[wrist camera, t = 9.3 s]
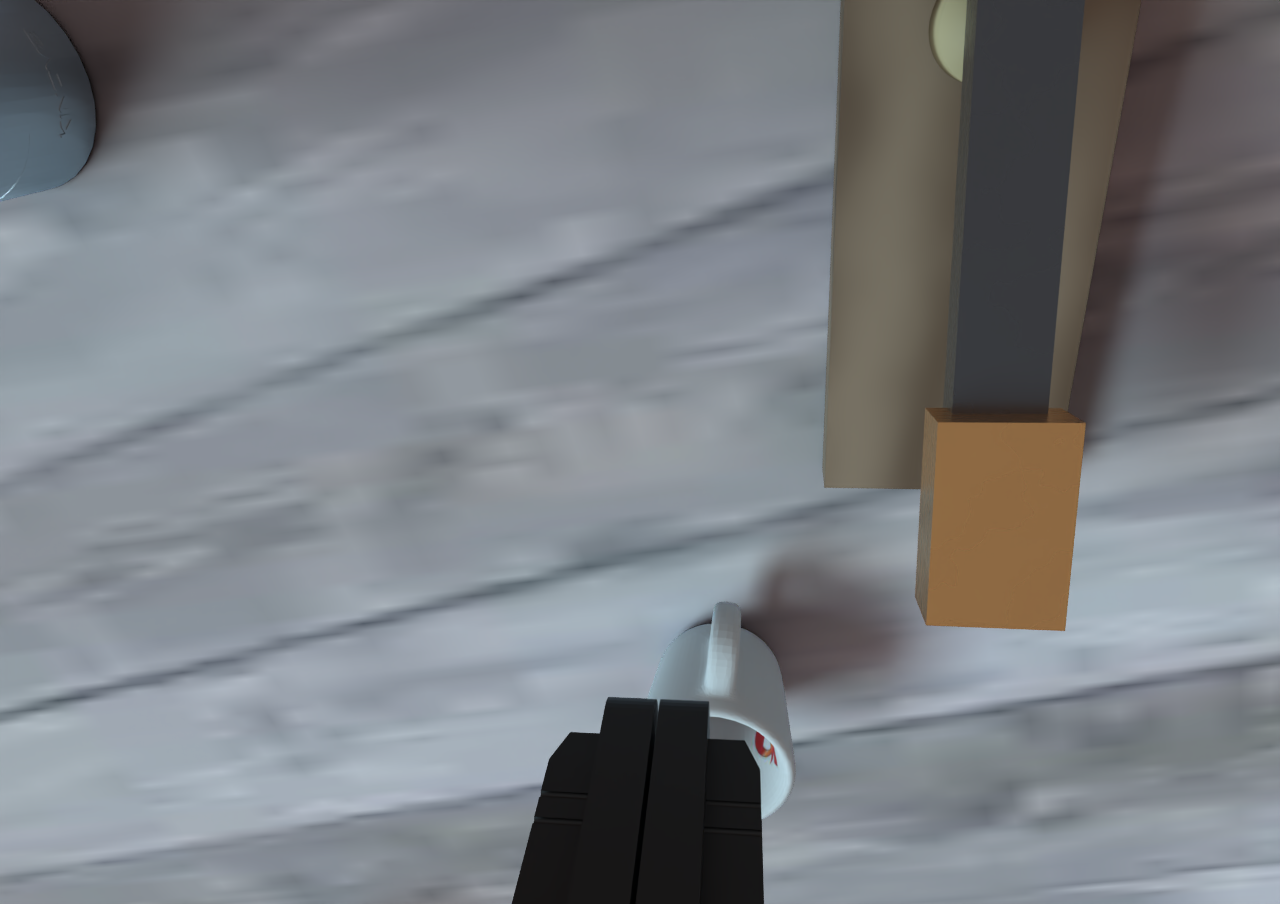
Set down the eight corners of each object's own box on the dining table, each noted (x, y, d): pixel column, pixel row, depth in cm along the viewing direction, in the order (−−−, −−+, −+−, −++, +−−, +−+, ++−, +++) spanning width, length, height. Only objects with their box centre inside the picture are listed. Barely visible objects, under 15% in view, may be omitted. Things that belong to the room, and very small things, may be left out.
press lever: (912, 589, 32) (926, 625, 29) (951, -147, 26) (973, -195, 23) (1038, 594, 31) (1065, 631, 28) (1107, -162, 25) (1149, -213, 22)
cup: (656, 552, 45) (633, 652, 38) (808, 569, 44) (814, 674, 37) (647, 704, 50) (626, 818, 43) (784, 723, 49) (785, 841, 42)
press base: (822, 467, 41) (830, 553, 35) (848, -192, 30) (868, -250, 23) (1041, 469, 40) (1093, 561, 33) (1159, -225, 28) (1275, -297, 22)
